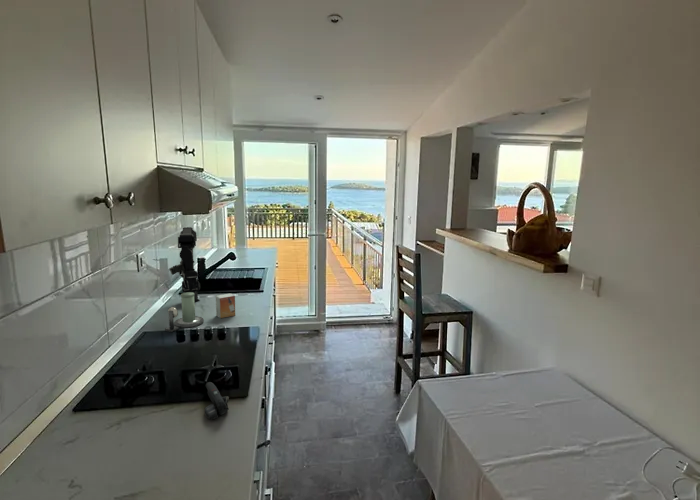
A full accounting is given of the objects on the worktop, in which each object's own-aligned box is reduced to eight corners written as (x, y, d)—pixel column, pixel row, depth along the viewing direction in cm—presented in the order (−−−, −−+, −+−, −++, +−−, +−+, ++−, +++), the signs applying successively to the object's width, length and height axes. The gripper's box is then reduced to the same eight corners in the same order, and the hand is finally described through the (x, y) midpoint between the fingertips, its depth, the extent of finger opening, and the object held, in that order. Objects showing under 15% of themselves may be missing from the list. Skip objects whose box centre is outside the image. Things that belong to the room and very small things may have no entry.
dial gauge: (172, 332, 170) (170, 310, 168) (164, 330, 172) (162, 308, 170) (179, 329, 174) (178, 307, 172) (171, 327, 176) (170, 306, 174)
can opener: (232, 417, 111) (231, 400, 110) (207, 424, 107) (206, 406, 106) (221, 388, 126) (220, 372, 125) (198, 393, 123) (197, 377, 122)
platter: (193, 316, 191) (193, 313, 191) (209, 322, 184) (209, 319, 184) (168, 323, 180) (168, 321, 180) (184, 330, 173) (184, 327, 173)
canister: (190, 317, 186) (189, 291, 184) (198, 319, 183) (196, 293, 180) (179, 320, 181) (178, 294, 179) (187, 323, 178) (185, 296, 176)
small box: (220, 318, 188) (219, 298, 187) (216, 315, 193) (215, 295, 191) (235, 315, 193) (235, 295, 192) (231, 312, 198) (230, 292, 196)
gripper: (167, 258, 197) (168, 288, 198) (172, 261, 182) (174, 293, 183) (190, 257, 203) (191, 286, 204) (197, 259, 188) (198, 291, 189)
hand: (188, 289), depth 195 cm, fingers open, 9 cm apart
